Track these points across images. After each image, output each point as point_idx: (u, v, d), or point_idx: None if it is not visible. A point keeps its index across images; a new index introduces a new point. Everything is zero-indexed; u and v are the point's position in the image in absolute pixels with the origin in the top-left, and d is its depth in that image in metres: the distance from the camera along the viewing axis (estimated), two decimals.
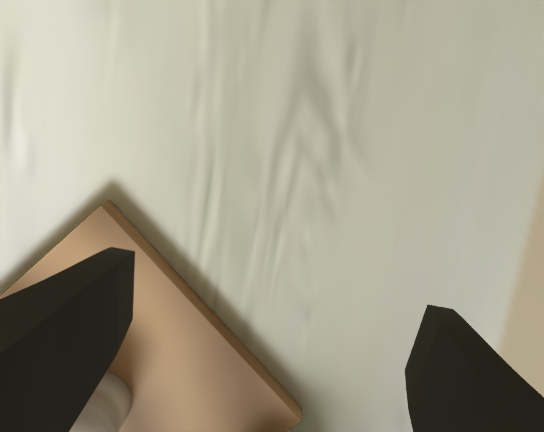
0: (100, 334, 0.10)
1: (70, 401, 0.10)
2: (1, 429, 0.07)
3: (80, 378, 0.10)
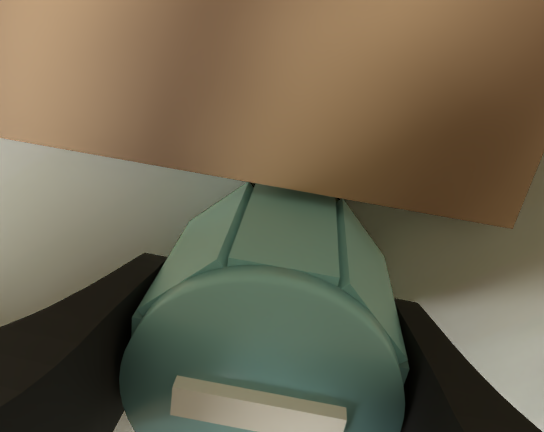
0: None
1: (111, 409, 0.10)
2: None
3: None
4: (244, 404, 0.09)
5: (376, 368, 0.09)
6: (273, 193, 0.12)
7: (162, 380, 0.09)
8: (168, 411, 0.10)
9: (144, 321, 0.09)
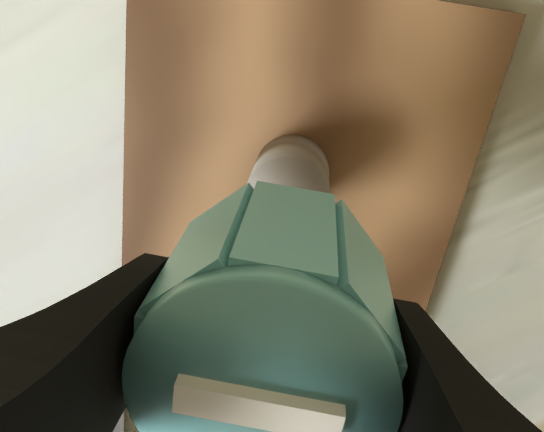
0: None
1: (110, 409, 0.10)
2: None
3: (119, 386, 0.10)
4: (245, 401, 0.09)
5: (375, 366, 0.09)
6: (273, 194, 0.12)
7: (164, 378, 0.09)
8: (170, 409, 0.10)
9: (146, 320, 0.09)
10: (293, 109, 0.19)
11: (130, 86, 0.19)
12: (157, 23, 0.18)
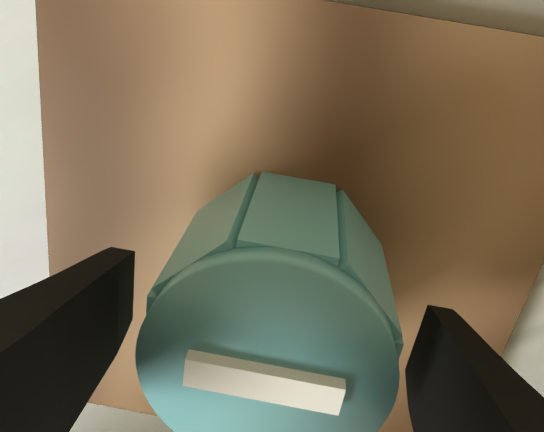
0: (100, 334, 0.10)
1: (70, 401, 0.10)
2: (1, 429, 0.07)
3: (80, 378, 0.10)
4: (251, 375, 0.10)
5: (373, 341, 0.09)
6: (277, 183, 0.12)
7: (175, 354, 0.10)
8: (180, 383, 0.10)
9: (159, 298, 0.09)
10: None
11: (50, 146, 0.13)
12: (83, 59, 0.12)
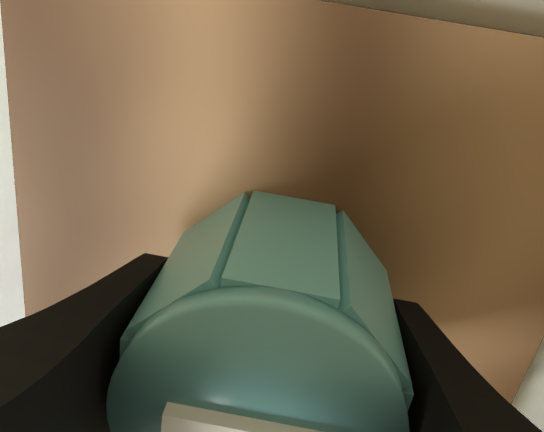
0: None
1: None
2: None
3: None
4: None
5: (379, 396, 0.08)
6: (270, 205, 0.11)
7: (152, 406, 0.09)
8: None
9: (132, 345, 0.08)
10: None
11: (21, 162, 0.12)
12: (56, 66, 0.11)
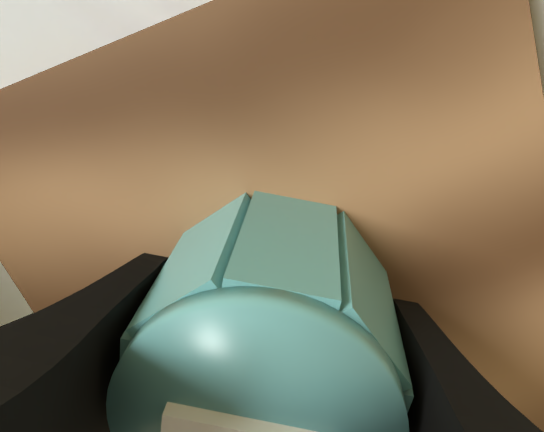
0: None
1: None
2: None
3: None
4: None
5: (379, 397, 0.08)
6: (271, 205, 0.11)
7: (151, 406, 0.09)
8: None
9: (133, 345, 0.08)
10: None
11: None
12: None
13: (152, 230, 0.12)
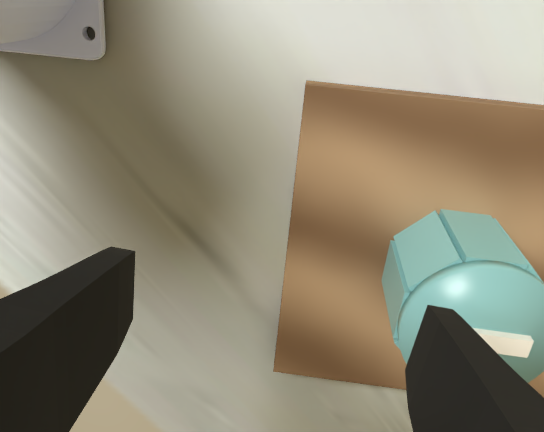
0: (100, 334, 0.10)
1: (70, 401, 0.10)
2: (1, 429, 0.07)
3: (80, 378, 0.10)
4: None
5: None
6: (457, 217, 0.19)
7: None
8: None
9: (422, 293, 0.16)
10: None
11: None
12: None
13: (403, 206, 0.20)
